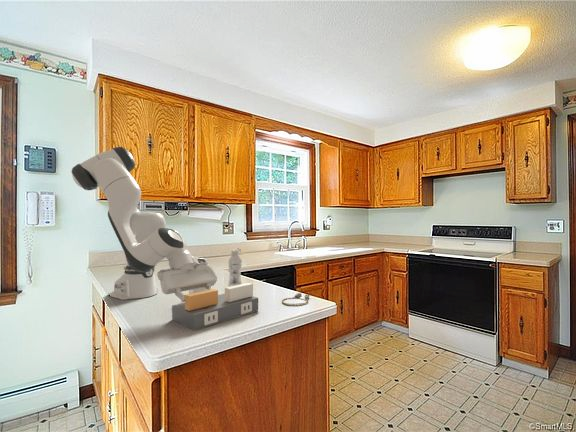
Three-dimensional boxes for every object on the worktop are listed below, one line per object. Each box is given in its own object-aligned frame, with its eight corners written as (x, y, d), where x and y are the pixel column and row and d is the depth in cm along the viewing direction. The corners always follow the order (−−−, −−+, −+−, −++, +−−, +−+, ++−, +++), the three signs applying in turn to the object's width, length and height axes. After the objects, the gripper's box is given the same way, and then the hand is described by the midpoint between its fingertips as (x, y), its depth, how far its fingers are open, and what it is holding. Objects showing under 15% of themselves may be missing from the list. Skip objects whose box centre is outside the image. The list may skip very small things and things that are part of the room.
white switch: (224, 300, 109) (224, 287, 109) (248, 294, 117) (248, 282, 117) (229, 301, 107) (229, 289, 107) (252, 296, 115) (252, 283, 115)
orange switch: (184, 308, 99) (184, 294, 99) (213, 302, 107) (213, 289, 107) (189, 310, 96) (189, 296, 97) (217, 303, 105) (217, 290, 105)
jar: (210, 296, 135) (209, 270, 135) (209, 301, 127) (209, 273, 127) (189, 297, 133) (189, 271, 133) (187, 302, 125) (187, 274, 125)
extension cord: (320, 301, 127) (320, 296, 127) (293, 308, 117) (293, 303, 117) (301, 296, 136) (301, 291, 136) (274, 302, 126) (274, 297, 126)
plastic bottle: (235, 289, 147) (235, 249, 147) (244, 292, 143) (244, 250, 143) (225, 292, 142) (225, 250, 142) (234, 294, 138) (234, 251, 138)
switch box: (163, 315, 108) (163, 301, 108) (225, 300, 128) (225, 288, 128) (195, 330, 93) (195, 314, 93) (259, 311, 113) (259, 297, 113)
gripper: (158, 264, 101) (171, 298, 94) (210, 259, 115) (225, 287, 109) (152, 276, 104) (165, 310, 97) (204, 269, 118) (218, 297, 112)
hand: (197, 298), depth 103 cm, fingers open, 8 cm apart
